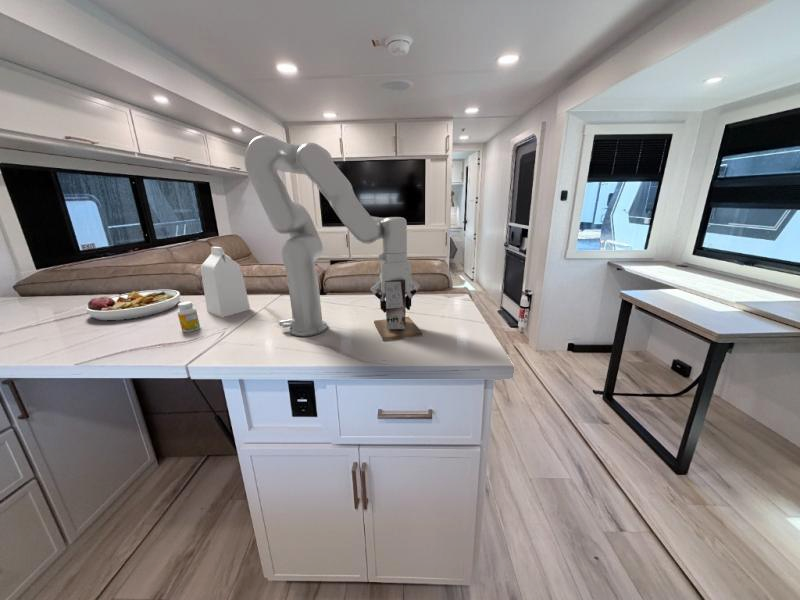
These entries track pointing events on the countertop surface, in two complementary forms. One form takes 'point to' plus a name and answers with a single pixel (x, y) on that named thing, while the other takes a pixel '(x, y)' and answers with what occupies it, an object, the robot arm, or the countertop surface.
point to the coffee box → (395, 304)
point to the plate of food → (132, 304)
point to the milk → (223, 284)
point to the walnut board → (397, 330)
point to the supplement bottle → (188, 317)
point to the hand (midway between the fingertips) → (395, 309)
